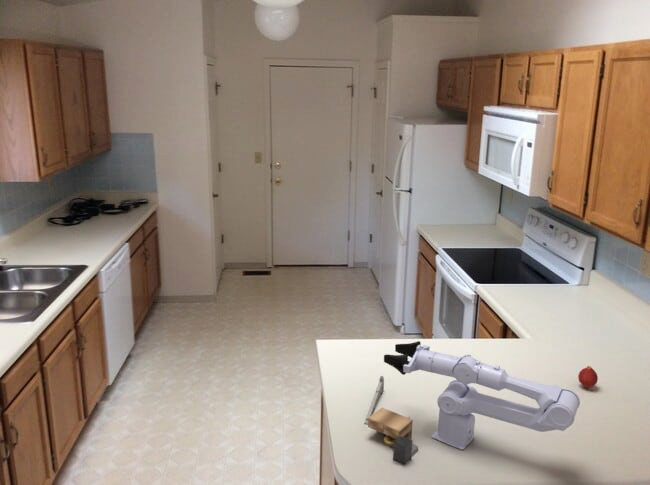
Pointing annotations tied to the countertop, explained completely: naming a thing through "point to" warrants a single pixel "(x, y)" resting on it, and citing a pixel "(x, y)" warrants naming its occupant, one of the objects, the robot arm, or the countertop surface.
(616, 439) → the countertop surface
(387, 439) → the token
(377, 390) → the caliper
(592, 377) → the onion
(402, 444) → the dark grey block
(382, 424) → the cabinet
